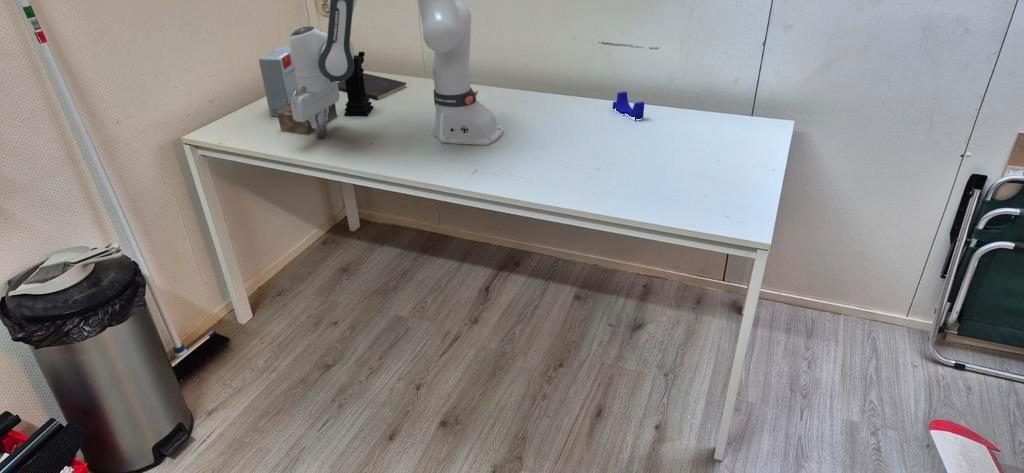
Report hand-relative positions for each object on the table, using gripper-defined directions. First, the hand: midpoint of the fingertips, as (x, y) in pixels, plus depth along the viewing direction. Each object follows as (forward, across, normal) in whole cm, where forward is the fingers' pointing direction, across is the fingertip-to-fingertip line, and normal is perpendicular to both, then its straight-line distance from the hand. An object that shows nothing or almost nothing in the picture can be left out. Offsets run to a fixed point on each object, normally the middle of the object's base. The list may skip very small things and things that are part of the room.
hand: (320, 124), depth 207 cm
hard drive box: (+4, +17, +25) cm, 31 cm away
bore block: (+4, +8, +10) cm, 14 cm away
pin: (+4, 0, 0) cm, 4 cm away
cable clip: (+5, +48, -88) cm, 101 cm away
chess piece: (+4, +22, 0) cm, 22 cm away
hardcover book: (+5, +44, +9) cm, 45 cm away
